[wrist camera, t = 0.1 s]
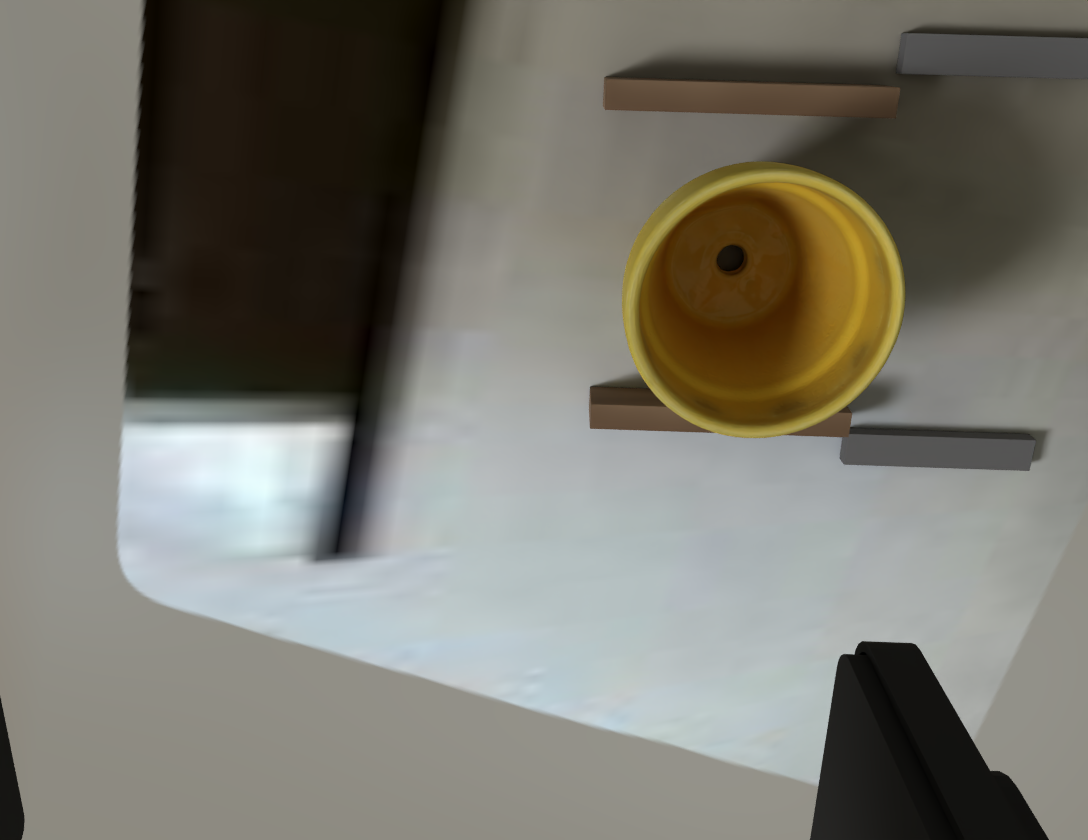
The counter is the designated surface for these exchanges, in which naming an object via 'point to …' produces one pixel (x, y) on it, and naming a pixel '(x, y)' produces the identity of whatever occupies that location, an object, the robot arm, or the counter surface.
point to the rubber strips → (967, 60)
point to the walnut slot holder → (736, 98)
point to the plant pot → (762, 299)
